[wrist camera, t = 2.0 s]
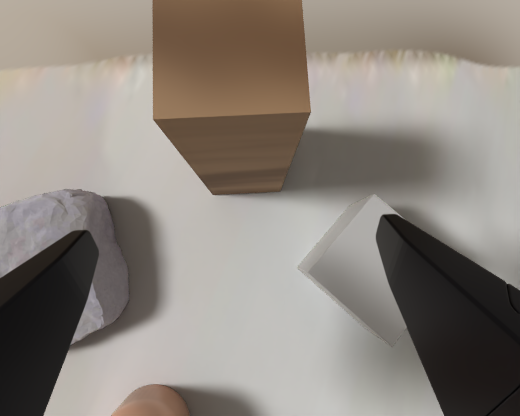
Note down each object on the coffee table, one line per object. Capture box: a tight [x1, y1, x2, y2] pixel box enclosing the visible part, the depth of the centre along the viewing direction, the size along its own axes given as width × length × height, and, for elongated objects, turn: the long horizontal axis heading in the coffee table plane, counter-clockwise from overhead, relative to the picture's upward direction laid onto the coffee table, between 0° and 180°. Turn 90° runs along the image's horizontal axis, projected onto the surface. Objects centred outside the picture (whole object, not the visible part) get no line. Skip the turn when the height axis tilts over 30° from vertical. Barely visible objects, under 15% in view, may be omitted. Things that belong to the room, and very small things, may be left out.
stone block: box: [0, 189, 129, 345], centre depth 20 cm, size 12×5×10 cm
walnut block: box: [153, 0, 311, 195], centre depth 16 cm, size 5×5×13 cm
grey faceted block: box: [297, 194, 407, 347], centre depth 19 cm, size 6×6×5 cm
